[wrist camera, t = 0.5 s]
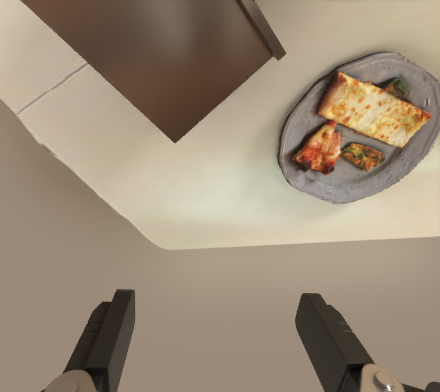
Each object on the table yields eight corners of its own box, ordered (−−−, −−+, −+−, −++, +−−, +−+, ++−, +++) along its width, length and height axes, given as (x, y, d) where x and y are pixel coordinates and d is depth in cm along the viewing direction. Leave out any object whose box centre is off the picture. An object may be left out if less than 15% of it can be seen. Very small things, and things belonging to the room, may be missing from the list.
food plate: (251, 166, 44) (254, 177, 41) (343, 18, 31) (357, 19, 29) (356, 208, 51) (365, 220, 48) (464, 102, 39) (484, 110, 36)
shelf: (63, -21, 28) (-40, -39, 16) (140, -142, 23) (75, -298, 11) (182, 104, 36) (173, 152, 25) (254, 35, 32) (286, 53, 20)
